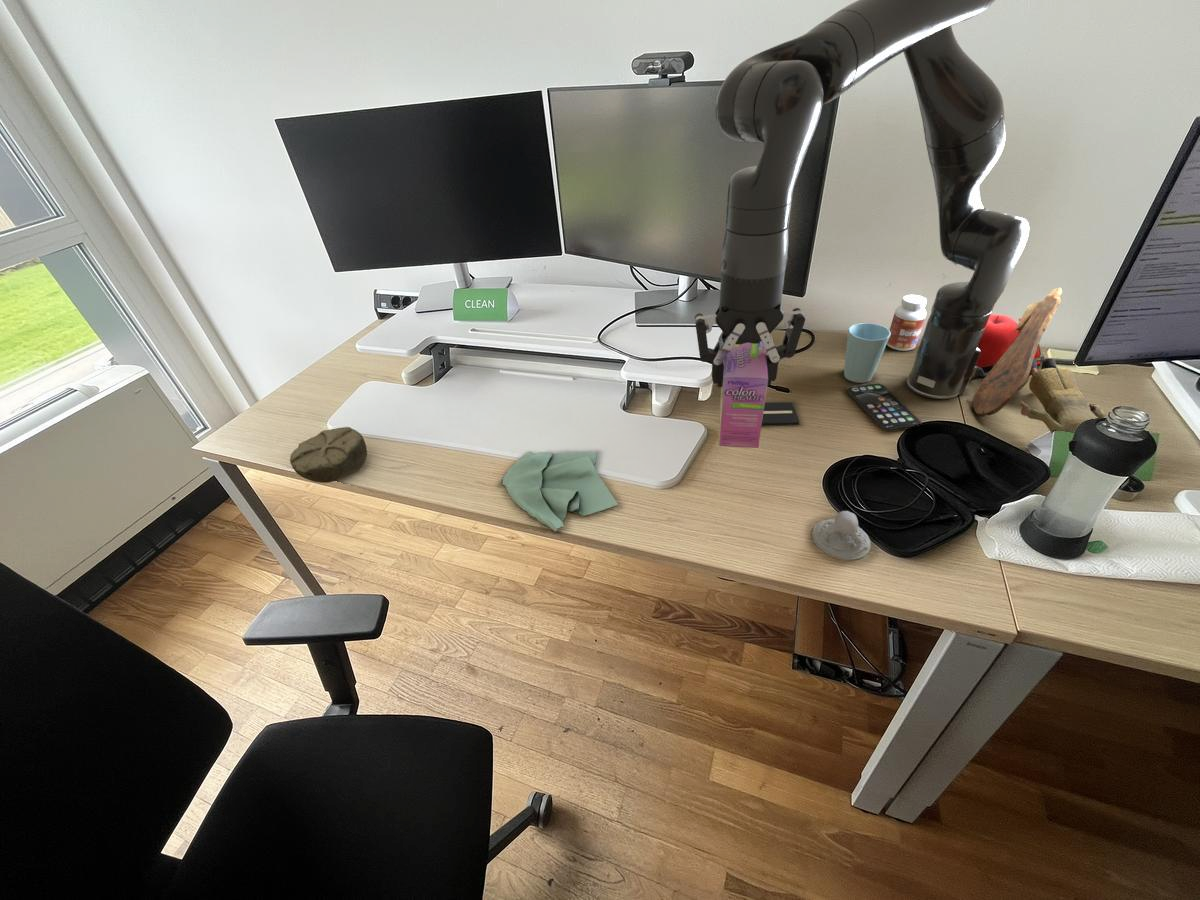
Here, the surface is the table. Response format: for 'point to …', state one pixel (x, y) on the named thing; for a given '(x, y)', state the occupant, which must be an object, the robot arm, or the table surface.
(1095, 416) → the figurine
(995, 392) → the paddle
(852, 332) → the cup
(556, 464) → the cloth
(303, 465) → the stone
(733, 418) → the box
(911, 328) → the pill bottle
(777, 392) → the table surface
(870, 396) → the smartphone
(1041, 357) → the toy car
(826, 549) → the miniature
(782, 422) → the black striped rectangular slab
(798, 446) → the table surface
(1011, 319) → the apple
